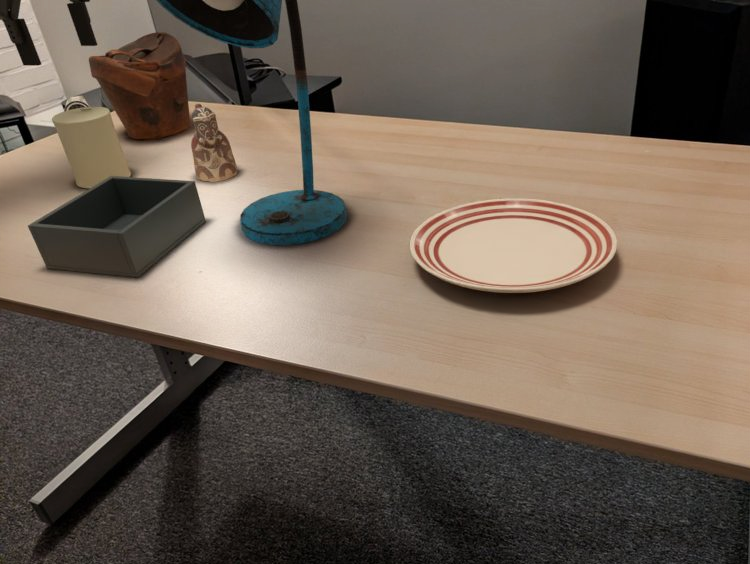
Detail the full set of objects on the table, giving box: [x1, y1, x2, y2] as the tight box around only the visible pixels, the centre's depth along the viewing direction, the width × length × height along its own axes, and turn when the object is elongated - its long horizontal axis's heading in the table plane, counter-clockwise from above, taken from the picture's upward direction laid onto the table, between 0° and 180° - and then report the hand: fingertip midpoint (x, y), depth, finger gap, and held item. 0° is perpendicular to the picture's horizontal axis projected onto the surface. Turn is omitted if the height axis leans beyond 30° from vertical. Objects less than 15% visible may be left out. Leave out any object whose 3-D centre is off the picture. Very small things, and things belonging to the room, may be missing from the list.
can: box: [51, 106, 132, 190], centre depth 114 cm, size 9×9×12 cm
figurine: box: [190, 103, 238, 183], centre depth 114 cm, size 7×7×12 cm
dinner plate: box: [409, 197, 618, 294], centre depth 88 cm, size 27×27×3 cm
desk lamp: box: [156, 0, 348, 246], centre depth 86 cm, size 16×22×45 cm
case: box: [88, 31, 191, 140], centre depth 134 cm, size 18×20×18 cm
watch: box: [63, 95, 91, 112], centre depth 125 cm, size 6×8×11 cm
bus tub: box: [27, 176, 207, 278], centre depth 94 cm, size 15×18×7 cm
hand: (62, 55), depth 107 cm, fingers open, 13 cm apart
